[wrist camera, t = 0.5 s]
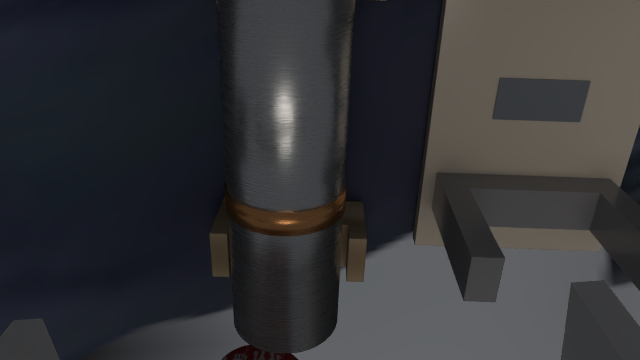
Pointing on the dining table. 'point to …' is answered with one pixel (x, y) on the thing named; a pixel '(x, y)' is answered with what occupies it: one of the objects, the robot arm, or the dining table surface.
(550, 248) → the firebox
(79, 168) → the dining table surface
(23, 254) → the dining table surface
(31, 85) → the dining table surface
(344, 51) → the tube
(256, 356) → the mug
